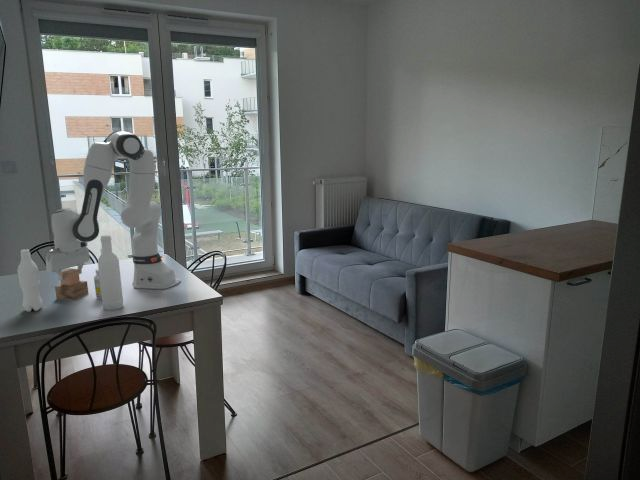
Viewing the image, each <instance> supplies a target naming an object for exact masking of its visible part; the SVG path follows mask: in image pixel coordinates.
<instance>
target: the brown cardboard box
mask: <svg viewBox="0 0 640 480" xmlns="http://www.w3.org/2000/svg"><path fill="white" fill-rule="evenodd" d="M61 274H62V275H64V279H63V280H60V284H61V285H66V286H72V285H75V284H78V283H80V281H81V280H80V279H81V278H80V274H79V269H78V268H72V267H69V268H66V269H63V270H61Z"/></svg>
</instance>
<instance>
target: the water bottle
mask: <svg viewBox="0 0 640 480" xmlns="http://www.w3.org/2000/svg"><path fill="white" fill-rule="evenodd" d="M31 255H32V254H31V253H30V249H21V250H20V262H19V263H18V265H17V266H18V267H17V270H16V271H17V275H18V276H17V277H18V283H19V287H20V289H21V291H22V297H23V301H22V303H21V305H22V307H23V309H24V310H25V312H28V313H29V312H32V310H34V311H35V312H37V311H39V310H40V309H42V308H43V302H44V301H43V299H42V296H41V295H40V290H39V288H40V284H41V282H40V276H39V268H38V265H37V264H36V263H35V262H34V260H33V259H32V257H31Z"/></svg>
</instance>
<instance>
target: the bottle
mask: <svg viewBox="0 0 640 480" xmlns="http://www.w3.org/2000/svg"><path fill="white" fill-rule="evenodd" d="M100 243H101V250H102V252H101V253H102V254H100V255H99V257H98V261H97V269H99V277H100V286H101V295H102V299H101V304H102V309H103V310H105V311H115V310H119V309H122V308H124V297H123V287H122V278H121V269H120V268H121V267H120V260H119V258H118V256H117V254H115V253H114V252H113V248H112V236H111V235H110V234H108V235H107V234H106V235H101V236H100Z"/></svg>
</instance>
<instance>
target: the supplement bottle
mask: <svg viewBox="0 0 640 480" xmlns="http://www.w3.org/2000/svg"><path fill="white" fill-rule="evenodd" d="M95 274H96V275H94V277H93V282H94V290H95V296H96V297H95V298H97V300H102V295H101V286H100V277H99V268H96V269H95Z"/></svg>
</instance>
